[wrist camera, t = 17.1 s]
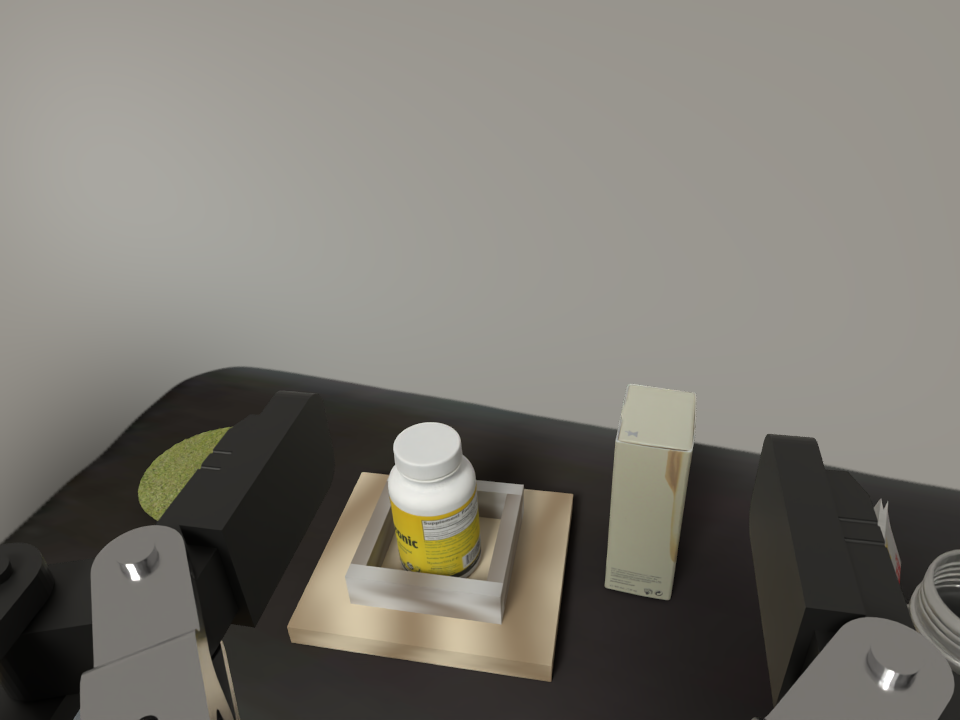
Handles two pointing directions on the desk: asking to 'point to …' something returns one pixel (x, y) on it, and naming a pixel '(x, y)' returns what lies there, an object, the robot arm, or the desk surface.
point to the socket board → (444, 586)
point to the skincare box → (649, 489)
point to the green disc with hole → (175, 471)
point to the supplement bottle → (434, 502)
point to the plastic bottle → (940, 607)
